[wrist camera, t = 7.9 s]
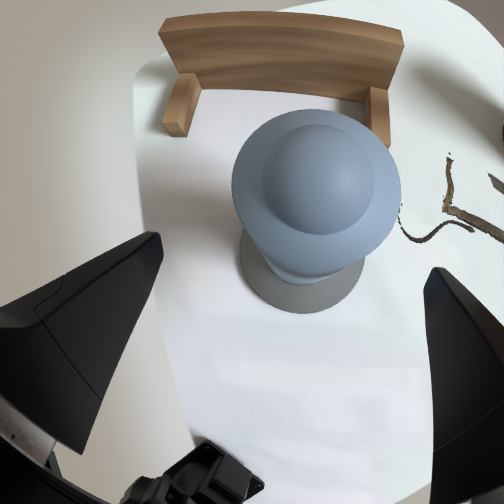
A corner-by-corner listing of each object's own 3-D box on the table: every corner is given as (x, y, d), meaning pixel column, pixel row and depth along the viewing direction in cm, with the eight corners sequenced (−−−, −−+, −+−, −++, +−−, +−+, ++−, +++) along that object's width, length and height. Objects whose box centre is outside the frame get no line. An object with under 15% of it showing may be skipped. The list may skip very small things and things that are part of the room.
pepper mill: (304, 301, 20) (338, 309, 6) (252, 253, 21) (178, 167, 7) (351, 247, 21) (450, 157, 6) (298, 202, 22) (305, 53, 7)
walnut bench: (382, 159, 22) (414, 103, 14) (171, 136, 25) (131, 83, 17) (379, 90, 23) (400, 30, 15) (192, 74, 25) (166, 18, 18)
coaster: (307, 338, 21) (307, 339, 20) (216, 255, 22) (214, 254, 22) (386, 245, 21) (388, 244, 20) (296, 169, 23) (296, 166, 22)
